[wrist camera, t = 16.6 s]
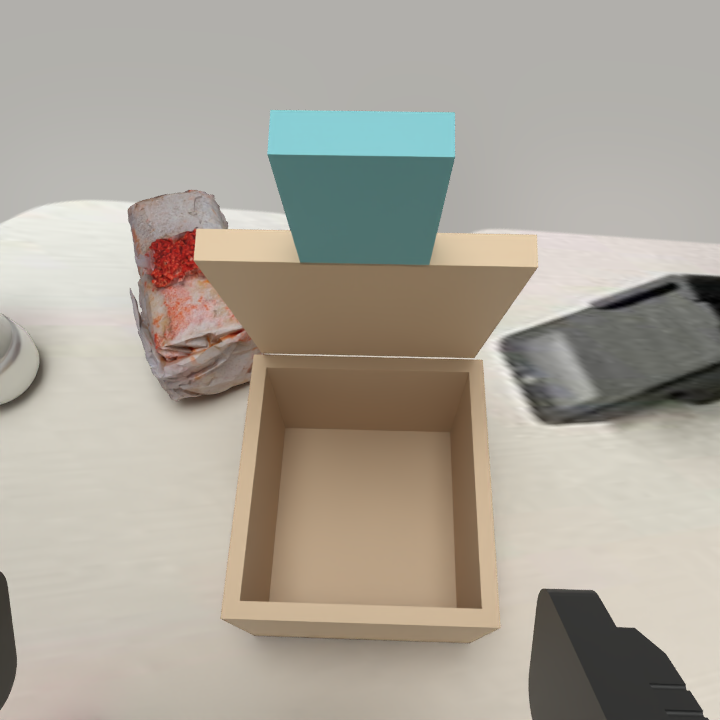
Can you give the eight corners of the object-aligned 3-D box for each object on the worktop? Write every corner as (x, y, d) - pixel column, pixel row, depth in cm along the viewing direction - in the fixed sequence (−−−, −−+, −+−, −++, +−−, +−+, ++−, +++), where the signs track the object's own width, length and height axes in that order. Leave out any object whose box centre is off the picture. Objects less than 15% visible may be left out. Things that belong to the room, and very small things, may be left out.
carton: (254, 635, 38) (220, 618, 29) (276, 421, 45) (253, 354, 36) (469, 643, 38) (500, 627, 29) (459, 426, 44) (482, 359, 36)
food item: (282, 385, 46) (262, 314, 38) (175, 420, 45) (129, 354, 36) (235, 246, 52) (209, 156, 44) (140, 273, 51) (93, 186, 42)
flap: (113, 152, 15) (118, 108, 16) (262, 353, 36) (263, 332, 36) (613, 159, 15) (610, 114, 15) (474, 357, 35) (473, 337, 36)
